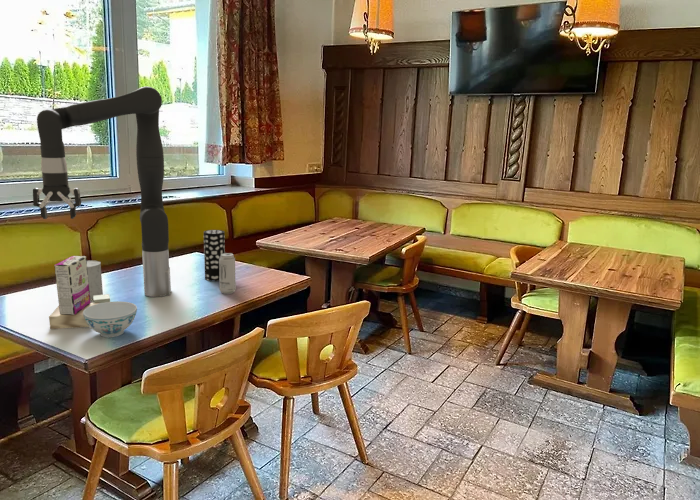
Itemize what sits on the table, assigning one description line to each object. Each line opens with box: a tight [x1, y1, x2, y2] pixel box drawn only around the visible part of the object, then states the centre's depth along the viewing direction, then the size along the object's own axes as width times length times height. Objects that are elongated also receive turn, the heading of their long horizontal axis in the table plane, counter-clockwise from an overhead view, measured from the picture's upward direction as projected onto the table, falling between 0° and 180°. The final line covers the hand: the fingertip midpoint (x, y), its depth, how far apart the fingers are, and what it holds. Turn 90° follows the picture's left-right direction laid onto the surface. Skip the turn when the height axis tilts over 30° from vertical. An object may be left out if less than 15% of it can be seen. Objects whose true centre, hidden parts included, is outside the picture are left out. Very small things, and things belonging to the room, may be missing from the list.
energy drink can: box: [218, 252, 236, 295], centre depth 204 cm, size 6×6×15 cm
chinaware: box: [83, 301, 138, 338], centre depth 162 cm, size 15×15×8 cm
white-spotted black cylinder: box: [203, 229, 226, 282], centre depth 220 cm, size 8×8×20 cm
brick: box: [92, 293, 111, 303], centre depth 181 cm, size 5×5×5 cm
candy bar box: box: [54, 255, 92, 315], centre depth 168 cm, size 11×5×16 cm, turn 1°
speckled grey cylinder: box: [86, 259, 104, 301], centre depth 194 cm, size 10×10×12 cm
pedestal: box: [48, 302, 100, 330], centre depth 171 cm, size 12×12×4 cm
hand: (59, 218), depth 181 cm, fingers open, 8 cm apart
